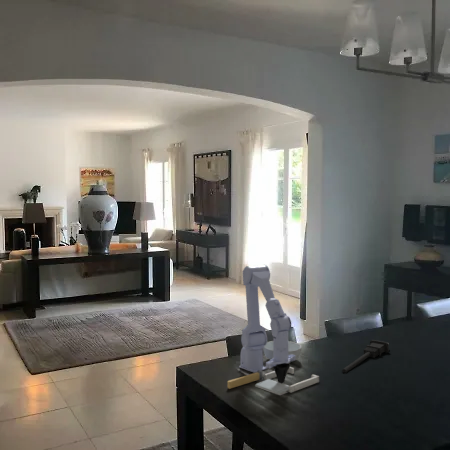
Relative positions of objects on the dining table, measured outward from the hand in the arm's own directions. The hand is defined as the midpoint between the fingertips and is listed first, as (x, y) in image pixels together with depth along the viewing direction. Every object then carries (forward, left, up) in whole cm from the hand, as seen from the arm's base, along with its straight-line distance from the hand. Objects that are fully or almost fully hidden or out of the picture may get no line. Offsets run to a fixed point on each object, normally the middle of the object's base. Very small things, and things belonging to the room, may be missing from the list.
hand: (281, 382), depth 197 cm
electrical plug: (+4, +49, -2) cm, 50 cm away
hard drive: (+1, -4, -2) cm, 5 cm away
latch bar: (-10, -10, 0) cm, 14 cm away
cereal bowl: (-19, +21, -1) cm, 28 cm away
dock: (-2, +5, -1) cm, 5 cm away
